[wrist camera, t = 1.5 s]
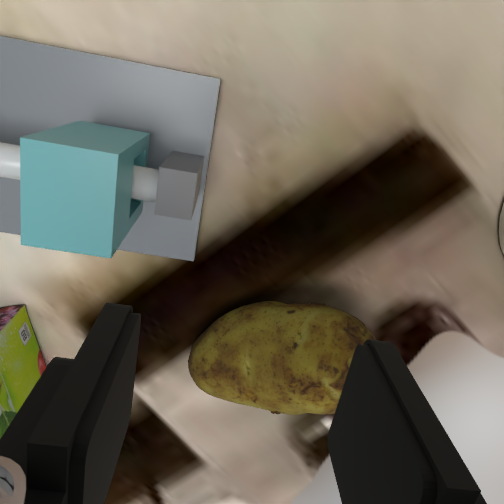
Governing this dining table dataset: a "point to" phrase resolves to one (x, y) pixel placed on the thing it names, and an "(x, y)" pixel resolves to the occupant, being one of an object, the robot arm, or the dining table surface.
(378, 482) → the robot arm
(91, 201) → the teal sliding cube
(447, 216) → the dining table surface
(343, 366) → the potato
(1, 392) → the snack box
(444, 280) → the dining table surface
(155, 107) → the slider rail stand
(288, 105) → the dining table surface
